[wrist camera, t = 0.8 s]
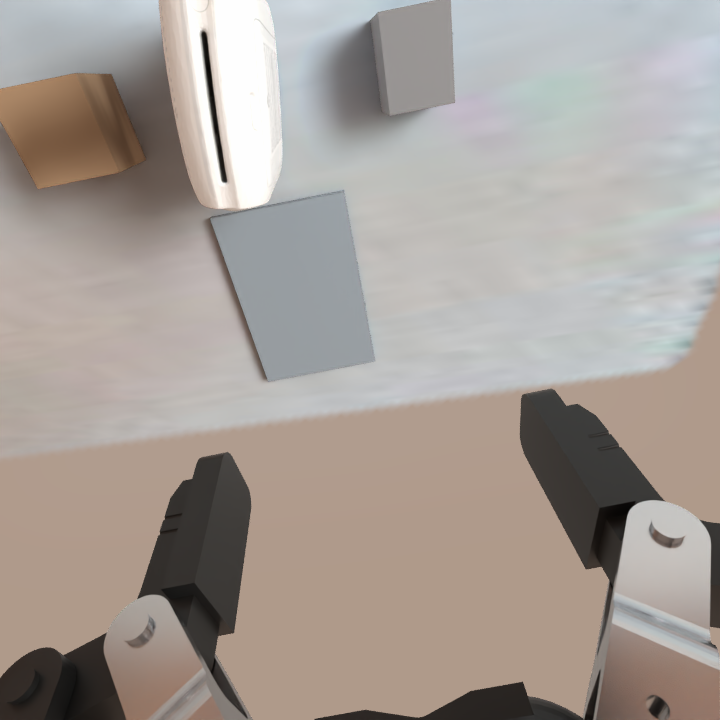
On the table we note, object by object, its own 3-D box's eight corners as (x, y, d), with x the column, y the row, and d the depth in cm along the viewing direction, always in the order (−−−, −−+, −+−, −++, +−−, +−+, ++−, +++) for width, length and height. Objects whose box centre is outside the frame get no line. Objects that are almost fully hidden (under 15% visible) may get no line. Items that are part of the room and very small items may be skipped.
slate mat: (211, 216, 32) (210, 218, 32) (343, 190, 32) (344, 192, 32) (268, 378, 41) (268, 381, 40) (374, 357, 40) (375, 361, 40)
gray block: (369, 20, 27) (378, 12, 24) (433, 7, 27) (450, -3, 24) (381, 111, 30) (390, 115, 26) (439, 100, 30) (455, 102, 26)
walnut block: (34, 90, 27) (-16, 92, 23) (111, 74, 27) (75, 73, 23) (76, 173, 30) (38, 189, 26) (146, 159, 30) (119, 172, 26)
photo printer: (200, -9, 26) (123, -70, 15) (275, -6, 26) (248, -63, 16) (225, 178, 31) (181, 227, 21) (286, 179, 31) (273, 227, 21)
